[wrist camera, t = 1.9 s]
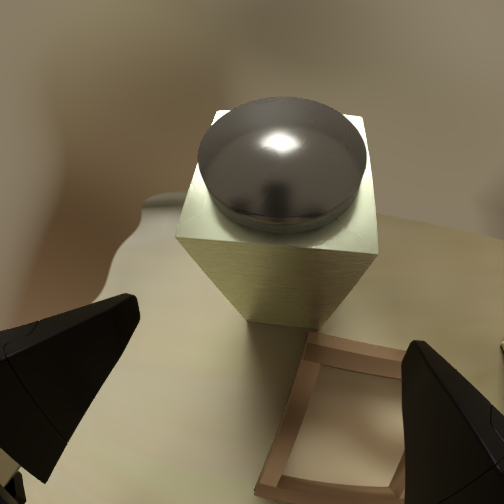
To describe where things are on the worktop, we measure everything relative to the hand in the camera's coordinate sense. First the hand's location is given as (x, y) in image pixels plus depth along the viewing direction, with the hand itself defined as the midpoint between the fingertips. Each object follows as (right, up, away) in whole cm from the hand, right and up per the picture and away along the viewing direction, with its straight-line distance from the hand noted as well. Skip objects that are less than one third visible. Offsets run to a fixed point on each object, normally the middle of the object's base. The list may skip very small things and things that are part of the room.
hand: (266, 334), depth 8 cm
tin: (+2, 0, +11) cm, 11 cm away
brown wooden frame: (+6, -9, +7) cm, 13 cm away
